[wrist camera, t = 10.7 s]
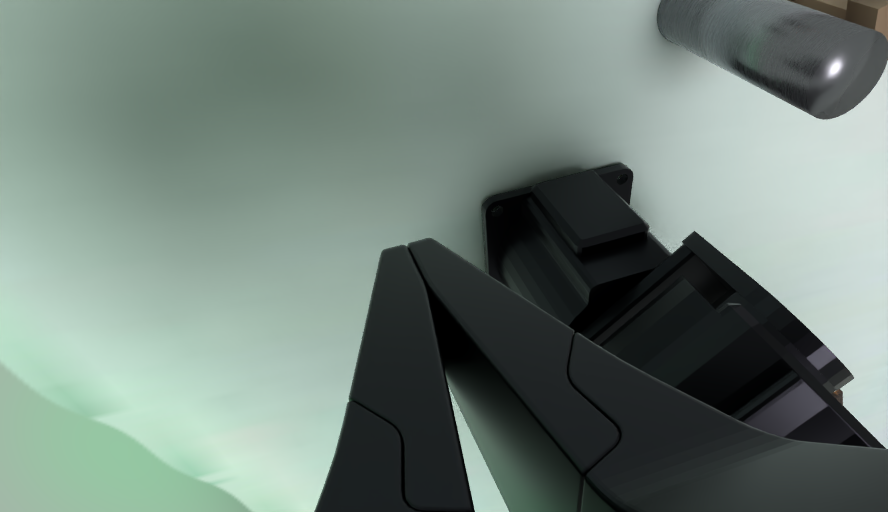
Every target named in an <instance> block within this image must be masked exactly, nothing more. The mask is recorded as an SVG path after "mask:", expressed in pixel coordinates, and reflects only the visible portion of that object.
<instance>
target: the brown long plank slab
mask: <svg viewBox="0 0 888 512" xmlns="http://www.w3.org/2000/svg"><path fill="white" fill-rule="evenodd" d="M788 1H791V2H794V3H797V4H800V5H803V6H806V7H809V8H812V9H815V10H817V11H820V12H823V13H826V14H829V15H832V16H835V17H838V18H841V19H844V20H847V21H850V22H852V23H855V24H858V25H861V26H864V27H867V28H870V29H873V30H876V31H878V32H881V33H882V34H883V35H884V36H885V37H886V38H887V41H888V0H788Z"/></svg>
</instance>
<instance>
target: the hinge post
mask: <svg viewBox="0 0 888 512" xmlns="http://www.w3.org/2000/svg"><path fill="white" fill-rule="evenodd" d="M658 27H659V30H660V32H661V34H662V35H663V36H664V37H665V38H666V39H668V40H669V41H671V42H673V43H675V44H677V45H679V46H681V47H683V48H685V49H687V50H688V51H690V52H692V53H694V54H696V55H698V56H700V57H702V58H704V59H706V60H708V61H709V62H711V63H713V64H715V65H717V66H719V67H721V68H723V69H725V70H727V71H728V72H730V73H732V74H734V75H736V76H738V77H740V78H742V79H744V80H746V81H748V82H749V83H751V84H753V85H755V86H757V87H759V88H761V89H763V90H765V91H767V92H768V93H770V94H772V95H774V96H776V97H778V98H780V99H782V100H784V101H786V102H787V103H789V104H791V105H793V106H795V107H797V108H799V109H801V110H803V111H805V112H807V113H808V114H810V115H812V116H814V117H816V118H819V119H832V118H835V117H838V116H840V115H843V114H845V113H846V112H848V111H850V110H851V109H853V108H854V107H855V106H856V105H858V104H859V103H860V102H861V101H862V100H863V99H864V98H865V97H866V96H867V95H868V94H869V93H870V92H871V90H872V89H873V88H874V86H875V85H876V84H877V82H878V81H879V79H880V77H881V75H882V73H883V71H884V69H885V66H886V64H887V60H888V41H887V38H886V37H885V36H884V35H883V34H882V33H881V32H878V31H876V30H873V29H870V28H867V27H864V26H861V25H858V24H855V23H852V22H850V21H847V20H844V19H841V18H838V17H835V16H832V15H829V14H826V13H823V12H820V11H817V10H815V9H812V8H809V7H806V6H803V5H800V4H797V3H794V2H791V1H788V0H662V1H661V4H660V7H659V11H658Z"/></svg>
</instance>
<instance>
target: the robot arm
mask: <svg viewBox="0 0 888 512" xmlns="http://www.w3.org/2000/svg"><path fill="white" fill-rule="evenodd" d="M620 175H622V176H621V177H620V179H617V178H618V177H619V176H620ZM632 182H633V172H632V171H631V169H629V168H628V167H627V166H626V165H624V164H617V165H613V166H609V167H605V168H601V169H597V170H593V171H592V170H589V171H586V172H582V173H578V174H574V175H570V176H566V177H562V178H558V179H554V180H550V181H546V182H542V183H538V184H536V185H534V186H530V187H526V188H522V189H518V190H514V191H510V192H506V193H502V194H498V195H494V196H492V197H489V198H488V199H487V200H485V202H484V203H483V205H482V218H483V234H484V249H485V264H486V273H485V272H483V271H482V270H480V269H479V268H477V267H476V266H474V265H472V264H471V263H469V262H468V261H466V260H465V259H463V258H462V257H460V256H459V255H457V254H455V253H454V252H452V251H451V250H449V249H448V248H446V247H445V246H443V245H442V244H440V243H438V242H437V241H435V240H434V239H432V238H426V239H422V240H418V241H415V242H411V243H409V244H408V246H407V247H406V246H405V245H399V246H395V247H391V248H388V249H384V250H383V251H382V252H381V255H380V260H379V264H378V269H377V273H376V278H375V282H374V287H373V291H372V296H371V300H370V305H369V309H368V314H367V318H366V323H365V327H364V332H363V336H362V341H361V345H360V350H359V354H358V359H357V363H356V368H355V372H354V377H353V381H352V386H351V390H350V395H349V402H348V403H347V407H346V411H345V416H344V420H343V425H342V428H341V432H340V436H339V440H338V444H337V447H336V451H335V455H334V458H333V461H332V464H331V467H330V470H329V473H328V475H327V478H326V481H325V484H324V487H323V490H322V493H321V495H320V498H319V501H318V503H317V506H316V509H315V511H314V512H475V510H474V506H473V501H472V496H471V491H470V487H469V482H468V477H467V473H466V468H465V463H464V458H463V454H462V449H461V444H460V439H459V435H458V430H457V425H456V421H455V416H454V411H453V406H452V402H451V397H450V392H449V387H450V389H451V392H452V394H453V396H454V398H455V400H456V402H457V404H458V406H459V408H460V410H461V412H462V414H463V416H464V418H465V421H466V423H467V425H468V427H469V429H470V431H471V433H472V435H473V437H474V439H475V441H476V443H477V445H478V448H479V450H480V452H481V454H482V456H483V458H484V460H485V462H486V464H487V466H488V468H489V470H490V472H491V475H492V477H493V479H494V481H495V483H496V485H497V487H498V489H499V491H500V493H501V495H502V497H503V499H504V501H505V504H506V506H507V508H508V510H509V512H888V449H886V448H885V447H884V446H883V445H882V444H881V443H880V442H879V441H878V440H877V439H876V438H875V437H874V436H873V435H872V434H871V433H870V432H869V431H868V430H867V429H866V428H865V427H864V426H863V425H862V424H861V423H860V422H859V421H858V420H857V419H856V418H855V417H854V416H853V415H852V414H851V413H850V412H849V411H848V410H847V409H846V408H845V407H844V406H843V405H842V404H841V403H840V402H839V401H838V400H837V399H836V398H835V397H834V396H833V395H832V394H831V393H833V392H834V391H835V390H836V391H837V390H838V389H840V388H841V387H843V386H844V385H845V384H847V383H848V382H850V381H851V380H853V379H854V377H853V375H852V374H851V373H850V371H849V370H848V369H847V368H846V367H845V366H844V365H843V363H842V362H841V361H840V360H839V359H838V358H837V357H836V356H835V355H834V354H833V353H832V352H831V351H830V350H829V349H828V348H827V347H826V346H825V345H824V344H823V343H822V342H821V341H820V340H819V339H818V338H817V337H816V336H815V335H814V334H813V333H812V332H811V331H810V330H809V329H808V328H807V327H806V326H805V325H804V324H803V323H802V322H801V321H800V320H799V319H797V318H796V317H795V316H794V315H793V314H792V313H791V312H790V311H789V310H788V309H787V308H786V307H785V306H783V305H782V304H781V303H780V302H779V301H778V300H777V299H776V298H775V297H773V296H772V295H771V294H770V293H769V292H768V291H767V290H765V289H764V288H763V287H762V286H761V285H759V284H758V283H757V282H756V281H755V280H753V279H752V278H751V277H750V276H749V275H747V274H746V273H745V272H744V271H743V270H741V269H740V268H739V267H738V266H736V265H735V264H734V263H733V262H732V261H730V260H729V259H728V258H727V257H726V256H724V255H723V254H722V253H721V252H720V251H718V250H717V249H716V248H715V247H713V246H712V245H711V244H710V243H709V242H707V241H706V240H705V239H704V238H703V237H701V236H700V235H699V234H698V233H696V232H695V231H694V232H693V233H691V234H690V235H689V236H688V237H687V238H686V239H684V240H683V241H682V243H683V245H682V246H681V247H679V248H678V249H677V250H676V251H675V252H674V253H672V254H671V253H670V252H669V251H668V250H667V249H666V248H665V247H664V246H663V245H662V244H661V243H660V242H659V241H658V240H657V239H656V238H655V237H654V236H653V235H652V234H651V233H650V232H649V225H648V224H647V223H646V222H645V221H644V220H643V219H642V218H641V217H640V216H639V215H638V214H637V213H636V212H635V211H634V210H633V209H632V208H631V207H630V206H629V205H630V197H631V190H632ZM496 206H499V208H498V209H497V210H496V211H493V212H491V211H492V209H493V208H494V207H496ZM448 385H449V387H448Z"/></svg>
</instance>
